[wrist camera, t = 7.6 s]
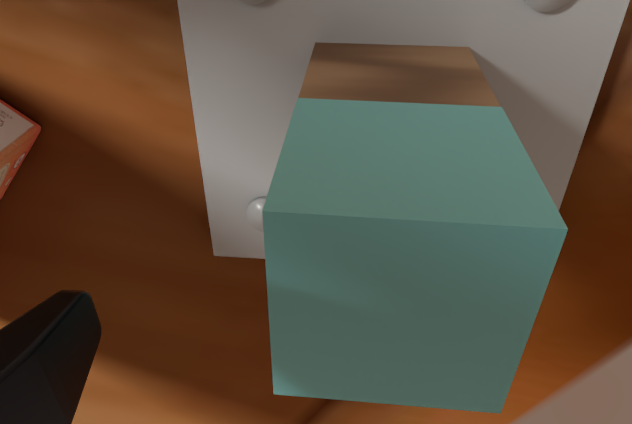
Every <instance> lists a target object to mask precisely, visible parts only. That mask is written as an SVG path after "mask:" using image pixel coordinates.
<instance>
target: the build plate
mask: <svg viewBox="0 0 632 424" xmlns="http://www.w3.org/2000/svg"><path fill="white" fill-rule="evenodd" d="M629 2H630V0H177V3H178V10H179V17H180V23H181V30H182V37H183V44H184V51H185V58H186V65H187V72H188V79H189V86H190V93H191V100H192V107H193V114H194V121H195V128H196V135H197V142H198V149H199V156H200V163H201V170H202V177H203V184H204V191H205V198H206V205H207V212H208V219H209V226H210V233H211V240H212V247H213V254H214V256H226V257H242V258H258V259H265V248H264V232H263V216H262V210H263V207H264V204H265V201H266V197H267V194H268V191H269V188H270V185H271V181H272V178H273V175H274V172H275V169H276V165H277V162H278V159H279V156H280V153H281V149H282V146H283V143H284V140H285V137H286V133H287V130H288V127H289V124H290V120H291V117H292V114H293V111H294V108H295V104H296V101H297V98H298V97H299V93H300V90H301V87H302V84H303V81H304V77H305V74H306V71H307V68H308V64H309V61H310V58H311V55H312V51H313V48H314V45H315V42H321V43H354V44H386V45H419V46H452V47H469V48H470V50H471V52H472V54H473V56H474V58H475V60H476V61H477V63H478V65H479V67H480V69H481V71H482V73H483V74H484V76H485V78H486V80H487V82H488V84H489V86H490V88H491V89H492V91H493V93H494V95H495V97H496V99H497V101H498V103H499V104H500V106H501V107H502V108H503V109H504V111H505V113H506V115H507V117H508V119H509V121H510V122H511V124H512V126H513V128H514V130H515V132H516V134H517V135H518V137H519V139H520V141H521V143H522V145H523V146H524V148H525V150H526V152H527V154H528V156H529V158H530V159H531V161H532V163H533V165H534V167H535V169H536V171H537V172H538V174H539V176H540V178H541V180H542V182H543V184H544V185H545V187H546V189H547V191H548V193H549V195H550V196H551V198H552V200H553V202H554V204H555V206H556V208H557V209H558V211H559V209H560V206H561V203H562V200H563V197H564V194H565V191H566V188H567V185H568V182H569V179H570V176H571V174H572V171H573V168H574V165H575V162H576V159H577V156H578V153H579V150H580V147H581V144H582V141H583V138H584V135H585V132H586V129H587V126H588V123H589V120H590V117H591V114H592V111H593V108H594V105H595V102H596V99H597V97H598V94H599V91H600V88H601V85H602V82H603V79H604V76H605V73H606V70H607V67H608V64H609V61H610V58H611V55H612V52H613V49H614V46H615V43H616V40H617V37H618V34H619V31H620V28H621V25H622V22H623V20H624V17H625V14H626V11H627V8H628V5H629Z"/></svg>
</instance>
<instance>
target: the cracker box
mask: <svg viewBox="0 0 632 424" xmlns="http://www.w3.org/2000/svg"><path fill="white" fill-rule="evenodd" d="M40 131H41V126H40V125H38V124H37V123H35V122H34V121H32V120H31V119H29V118H28V117H26V116H25V115H23V114H22V113H20V112H19V111H17V110H16V109H14V108H13V107H11V106H10V105H8V104H7V103H5V102H4V101H2V100H1V99H0V200H1V198H2V196H3V195H4V193H5V191H6V190H7V188H8V186H9V184H10V183H11V181H12V179H13V178H14V176H15V174H16V172H17V171H18V169H19V167H20V166H21V164H22V162H23V160H24V159H25V157H26V155H27V154H28V152H29V150H30V149H31V147H32V145H33V143H34V142H35V140H36V138H37V136H38V135H39V133H40Z"/></svg>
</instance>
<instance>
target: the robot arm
mask: <svg viewBox="0 0 632 424" xmlns="http://www.w3.org/2000/svg"><path fill="white" fill-rule="evenodd" d="M100 338H101V324H100V321H99V318H98V315H97V312H96V309H95V306H94V303H93V301H92V298H91V296H90V294H89V293H88V292H85V291H78V290H62V291H59V292H57V293H56V294H54V295H53V296H51V297H49V298H48V299H46V300H45V301H43V302H42V303H40V304H39V305H37V306H36V307H34V308H33V309H31V310H29V311H28V312H26V313H25V314H23V315H22V316H20V317H19V318H17V319H16V320H14V321H13V322H11V323H9V324H8V325H6V326H5V327H3V328H2V329H0V424H71V423H72V420H73V417H74V415H75V412H76V409H77V406H78V403H79V400H80V397H81V394H82V391H83V389H84V386H85V383H86V380H87V377H88V374H89V371H90V368H91V365H92V362H93V359H94V356H95V353H96V350H97V347H98V344H99V341H100Z"/></svg>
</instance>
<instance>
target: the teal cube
mask: <svg viewBox="0 0 632 424" xmlns="http://www.w3.org/2000/svg"><path fill="white" fill-rule="evenodd" d="M262 216H263V232H264V248H265V264H266V281H267V297H268V313H269V329H270V346H271V362H272V378H273V394H275V395H287V396H299V397H311V398H323V399H335V400H347V401H359V402H371V403H383V404H395V405H406V406H418V407H430V408H442V409H454V410H466V411H478V412H490V413H501V411H502V408H503V406H504V403H505V400H506V397H507V395H508V392H509V389H510V387H511V384H512V381H513V378H514V376H515V373H516V370H517V367H518V365H519V362H520V359H521V357H522V354H523V351H524V348H525V346H526V343H527V340H528V338H529V335H530V332H531V329H532V327H533V324H534V321H535V318H536V316H537V313H538V310H539V308H540V305H541V302H542V299H543V297H544V294H545V291H546V288H547V286H548V283H549V280H550V278H551V275H552V272H553V269H554V267H555V264H556V261H557V259H558V256H559V253H560V250H561V248H562V245H563V242H564V239H565V237H566V234H567V231H568V228H567V226H566V224H565V222H564V221H563V219H562V217H561V215H560V213H559V211H558V209H557V208H556V206H555V204H554V202H553V200H552V198H551V196H550V195H549V193H548V191H547V189H546V187H545V185H544V184H543V182H542V180H541V178H540V176H539V174H538V172H537V171H536V169H535V167H534V165H533V163H532V161H531V159H530V158H529V156H528V154H527V152H526V150H525V148H524V146H523V145H522V143H521V141H520V139H519V137H518V135H517V134H516V132H515V130H514V128H513V126H512V124H511V122H510V121H509V119H508V117H507V115H506V113H505V111H504V109H503V108H502V107H493V106H470V105H447V104H424V103H402V102H379V101H356V100H333V99H310V98H297V101H296V104H295V108H294V111H293V114H292V117H291V120H290V124H289V127H288V130H287V133H286V137H285V140H284V143H283V146H282V149H281V153H280V156H279V159H278V162H277V165H276V169H275V172H274V175H273V178H272V181H271V185H270V188H269V191H268V194H267V197H266V201H265V204H264V207H263V210H262Z"/></svg>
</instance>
